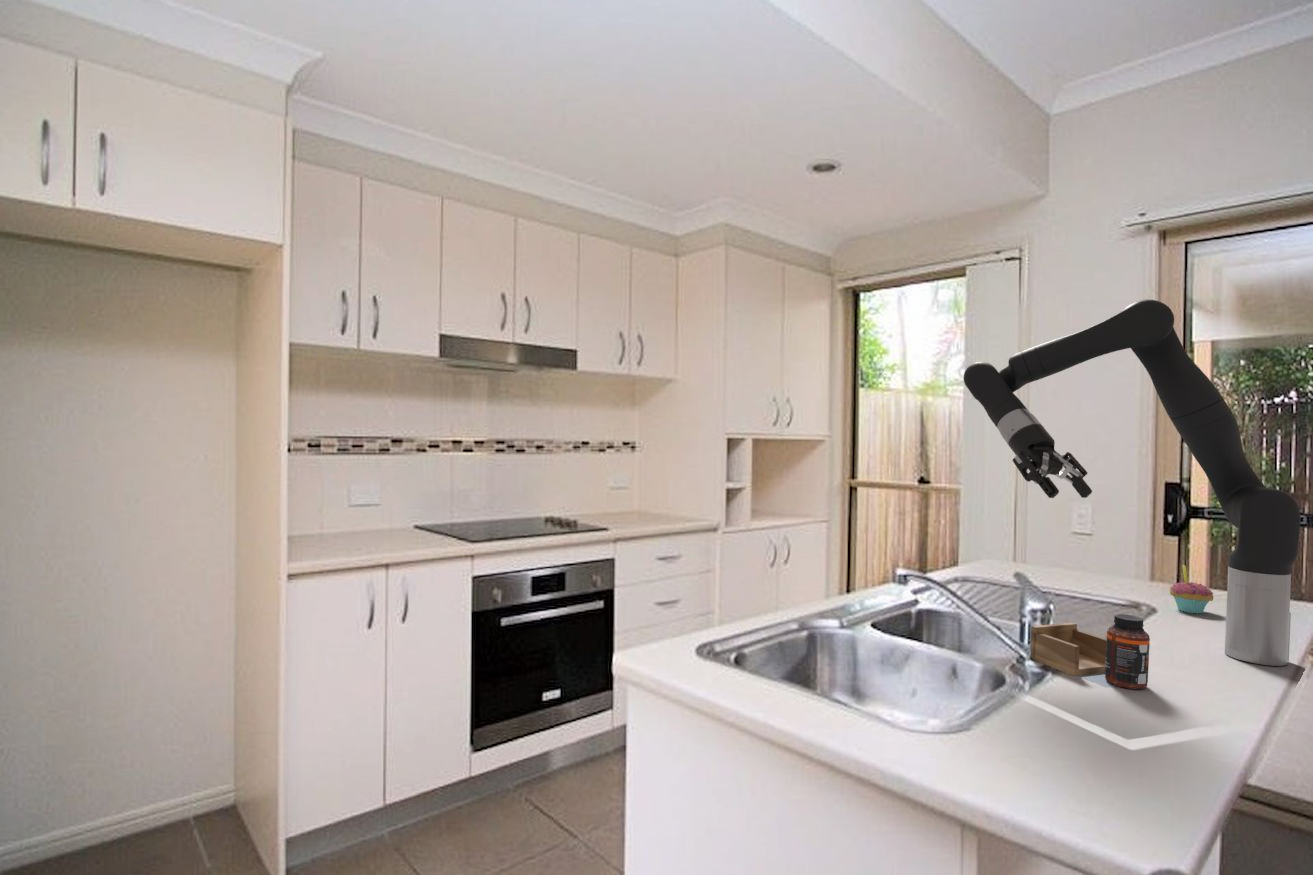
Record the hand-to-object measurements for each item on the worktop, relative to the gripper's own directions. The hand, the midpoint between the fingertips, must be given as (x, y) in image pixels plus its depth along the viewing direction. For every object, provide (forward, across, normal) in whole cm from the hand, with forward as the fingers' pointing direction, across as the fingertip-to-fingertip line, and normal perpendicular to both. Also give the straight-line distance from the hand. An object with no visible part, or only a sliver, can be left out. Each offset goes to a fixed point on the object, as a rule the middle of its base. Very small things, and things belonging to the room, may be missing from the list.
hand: (1071, 495), depth 134 cm
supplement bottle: (+34, -8, +8) cm, 36 cm away
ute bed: (+27, -8, +16) cm, 33 cm away
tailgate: (+30, -8, +12) cm, 33 cm away
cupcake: (+10, +60, +33) cm, 69 cm away
